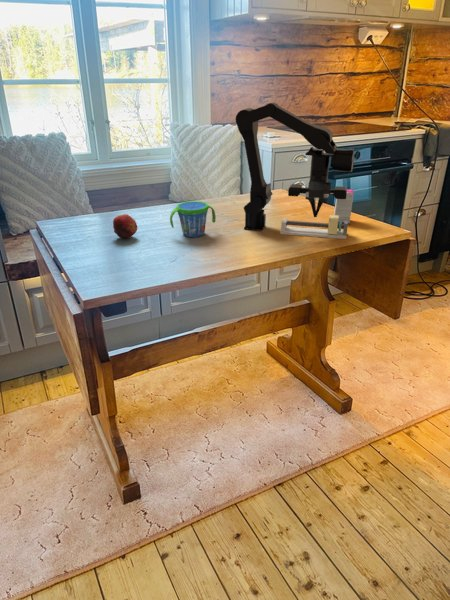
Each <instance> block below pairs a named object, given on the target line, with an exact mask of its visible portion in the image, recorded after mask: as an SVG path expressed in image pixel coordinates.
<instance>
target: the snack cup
mask: <svg viewBox="0 0 450 600" xmlns="http://www.w3.org/2000/svg"><path fill="white" fill-rule="evenodd" d="M209 209H211V215H212V218H211V222H212V223H213V224H215V222H216V219H217V218H216V211H215V209H214V208H213V207H212V206H211V205H209V204H208V203H206V202H203V201H199V200H198V201H195V200H193V201H190V200H189V201H185V202H181V203H178V204H177V205H176V207H175V208H174V209H173V210H171V214H170V217H169V223H170V227H171V228H173V229H174V221H173V217H174V215H176V213H177V214H178V217H179V222H180V226H181V232H182V235H183V236H185V237H188V238H197V237H202V236H203V235H204V234H205V232H206V223H207V216H208V215H207V214H208V210H209Z"/></svg>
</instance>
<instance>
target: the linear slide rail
mask: <svg viewBox="0 0 450 600" xmlns="http://www.w3.org/2000/svg"><path fill="white" fill-rule="evenodd" d="M328 224H329V222H328V223H327V222H313V221H300V220H299V221H298V220H288V218H282V220H281V224H280V235H291V236H299V237H300V236H301V237H302V236H303V237H312V238H313V237H315V238H325V239H326V238H327V239H328V238H329V239H341V240H344V239H345V240H346V239H347V233H348V226H349V224H348V221H344V224H342V222H339V224H338V227H337V235H336V234H328ZM295 226H296V227H295ZM307 227H309V228H307ZM324 228H325V229H324Z"/></svg>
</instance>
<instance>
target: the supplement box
mask: <svg viewBox="0 0 450 600" xmlns="http://www.w3.org/2000/svg"><path fill="white" fill-rule="evenodd" d="M354 193H355V192H354V190H353V189H348V188H347V195H346V199H336V198H335V205H334V211H333V212H334V213H333V215H337V216H339V218H338V224H339V222H342V224H344V221H348V225H349V224H350V222H351V221H350V220H351V215H352V209H353V200H354Z"/></svg>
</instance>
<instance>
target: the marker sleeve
mask: <svg viewBox="0 0 450 600" xmlns="http://www.w3.org/2000/svg"><path fill="white" fill-rule="evenodd" d="M338 218H339V216H337V215H334V214H330V215H329V217H328V223H329V224H328V228H327V230H328V234H336V235H337V230H338V229H337V227H338Z"/></svg>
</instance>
